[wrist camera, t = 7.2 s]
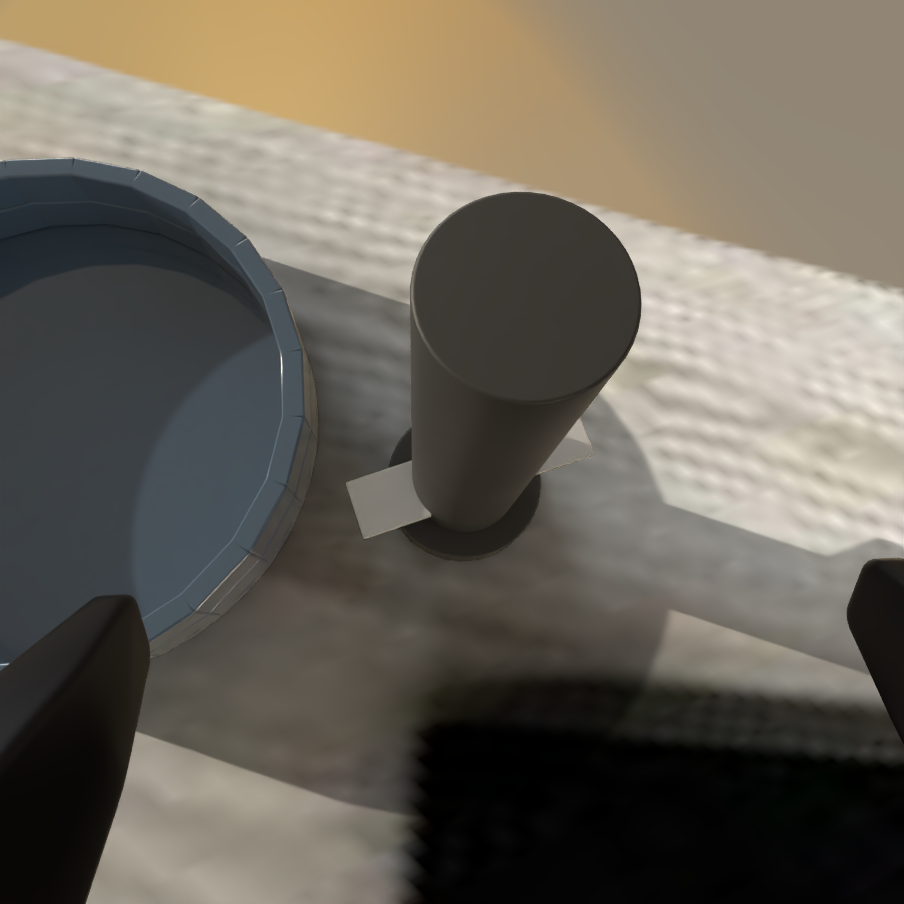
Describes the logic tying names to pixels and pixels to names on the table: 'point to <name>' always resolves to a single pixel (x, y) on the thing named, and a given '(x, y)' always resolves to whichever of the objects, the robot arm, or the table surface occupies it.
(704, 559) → the table surface
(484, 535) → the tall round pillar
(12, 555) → the bowl
